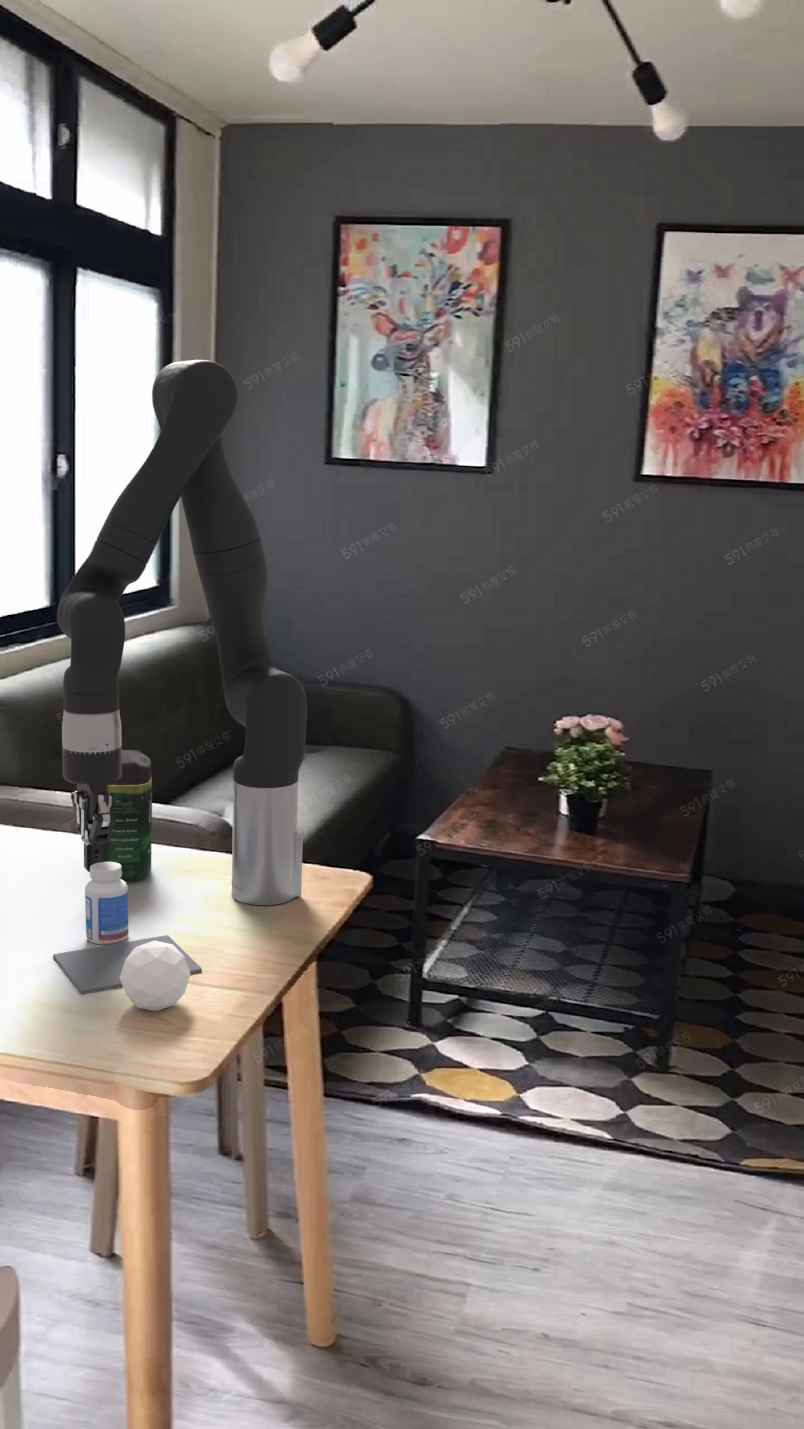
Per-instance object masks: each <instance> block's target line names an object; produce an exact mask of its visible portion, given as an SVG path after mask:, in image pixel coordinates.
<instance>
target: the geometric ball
mask: <svg viewBox="0 0 804 1429" xmlns="http://www.w3.org/2000/svg"><path fill="white" fill-rule="evenodd" d="M190 976H191V974H190V971H189V968H188V965H187V963H186V960H185V957H184V956H183V955H182V954H181V953H180V952H179V950H178V949H177V948H176V947H175V946H174V945H173V944H168V943H164V942H159V941H155V940H154V941H151V942H148V943H145V944H142V945H140V946H137V947H135V948H134V950H133V951H132V952H131V953H130V955H129V956H128V957H127V958H126V960H125V963H124V966H123V969H122V972H121V975H120V981H121V983H122V988H123V990H124V992H125V994H126V997H128V999H129V1000H130V1001H131V1002H132V1003H133V1005H134V1006H135V1007H136V1008H138V1009H141V1010H142V1009H143V1010H148V1011H152V1012H158V1011H161V1010H164V1009H166V1008H169V1007H171V1006H175V1005H176V1004H177V1002H179V1000H180V999H181V998H182V997H183V995H184V994H186V990H187V987H188V984H189V980H190Z"/></svg>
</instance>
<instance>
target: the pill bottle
mask: <svg viewBox="0 0 804 1429" xmlns="http://www.w3.org/2000/svg"><path fill="white" fill-rule="evenodd" d="M89 876H90V881H88V882H87V883H86V885H85V887H84V901H85V933H86V935H85V936H86V938H87V940H88V941H89V942H90V943H94V944H96V945H111V944H117V943H122V942H123V941H124V940H126V939H127V938H128V937H129V896H128V895H129V892H128V891H129V890H128V888H129V886H128V883H126V882H125V881H123V880H122V879H120V878H121V876H122V868H121V865H120V864H119V863H116V862H99V863H95V864H93V865H91V866H90V872H89Z"/></svg>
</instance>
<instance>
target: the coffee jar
mask: <svg viewBox="0 0 804 1429" xmlns="http://www.w3.org/2000/svg"><path fill="white" fill-rule="evenodd" d="M152 779H153V777H152V761H151V759H150V758H149V756H147V755H146V754H144V753H142V752H141V751H140V750H136V749H135V750H134V749H127V750H126V749H122V775H121V777H120V778H119V779H118V780H116V781H112V782H111V783H109V784H108V792H109V793H110V794H111V797H112V805H111V807H110V812H115V814H116V821H115V824H114V828H113V831H112V834H111V838H110V841H109V843H105V844H103V862H116V863H119V864H120V865H121V868H122V876H121V878H120V879H122V880H123V881H125V882H126V884H128V883H130V882H133V881H139V880H140V881H141V880H145V879H147V877H149V874H150V872H151V870H152V831H153V830H152V828H153V827H152V826H153V785H152V784H153V780H152Z"/></svg>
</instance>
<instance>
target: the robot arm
mask: <svg viewBox="0 0 804 1429" xmlns="http://www.w3.org/2000/svg"><path fill="white" fill-rule="evenodd" d="M151 400H152V402H151V403H152V407H153V411H154V414H155V417H156V419H157V423H158V426H159V428H160V433H159V435H158V437H157V439H156V441H155V443H154V445H153V447H152V449H151V451H150V453H149V454H148V456H147V458H146V459H145V461H143V464H142V465H141V466H140V467H139V469H138V471H137V472H136V473H135V474H134V476H133V477H132V479H131V480H130V481H129V483H127V485H126V486H125V488H124V489H123V490H122V492H121V493H120V495H119V496H118V498H117V499H116V501H115V503H114V504H113V506H112V507H111V509H110V511H109V513H108V515H107V516H106V519H105V521H104V522H103V524H102V527H101V529H100V531H99V533H98V535H97V538H96V540H95V541H94V543H93V546H92V549H91V552H90V553H89V555H88V556H87V558H86V559H85V560H84V562H83V563H82V564H81V566H80V567H79V568H78V570H77V571H76V573H75V574H74V576H73V577H72V578H71V580H70V582H69V583H68V585H67V587H66V588H65V590H64V592H63V593H62V595H61V598H60V601H59V602H58V606H57V610H56V621H57V624H58V625H57V626H59V629H60V630H61V632H62V634H64V635H65V637H68V638H69V640H70V663H69V664H70V665H69V666H68V667H67V668H66V669H65V671H64V675H63V683H62V684H63V685H62V686H63V687H62V688H63V690H62V692H63V694H62V695H63V700H62V701H63V715H62V723H61V742H62V744H61V745H62V752H61V753H62V755H61V756H62V757H61V758H62V778H64V780H65V781H67V782H68V783H71V784H75V785H76V791H72V792H71V793H70V799H71V804H72V809H73V814H74V818H75V825H76V830H77V834H78V835H80V839H81V842H82V843H83V867H84V869H85V870H86V871H87V872H88V873H90V866H91V865H93V864H95V863H99V862H103V844H105V843H109V841H110V838H111V834H112V831H113V828H114V824H115V821H116V814H115V812H110V807H111V805H112V797H111V794H110V793H109V792H108V784H109V783H111V782H112V781H116V780H118V779H119V778H120V777H121V775H122V750H123V749H122V748H123V747H122V744H123V743H122V719H121V715H120V682H119V681H120V680H119V673H120V669H121V665H122V660H123V655H124V654H123V653H124V648H125V642H126V641H125V640H126V620H125V614H124V612H123V608H122V607H121V606H120V604H119V601H120V599H121V598H122V596H123V594H124V592H125V590H126V589H127V587H128V586H129V585H130V584H131V585H132V584H133V583H135V582H136V581H138V580H139V579H140V577H141V576H142V574H143V573H144V571H145V570H146V567H147V565H148V563H149V561H150V559H151V557H152V555H153V554H154V551H155V549H156V546H157V545H158V542H159V540H160V538H161V536H162V534H163V531H164V530H165V528H166V526H167V523H168V522H169V519H170V517H171V515H172V513H173V512H174V509H175V508H176V505H177V504H178V503H179V500H180V499H181V502H182V506H183V508H182V509H183V512H184V516H185V520H186V525H187V529H188V533H189V537H190V543H191V548H192V551H193V556H194V557H193V558H194V561H195V565H196V568H197V572H198V577H199V580H200V584H201V587H202V591H203V593H204V598H205V602H206V607H207V609H208V614H209V618H210V621H211V626H212V628H213V632H214V635H215V639H216V640H215V641H216V645H217V646H216V647H217V652H218V658H219V664H220V672H221V681H222V687H223V694H224V700H225V705H226V708H227V709H228V712H229V714H230V715H231V717H232V718H233V719H234V720H235V722H237V723H238V724H240V726H243V727H245V737H244V740H245V741H244V751H243V754H242V755H241V756H238V757H237V758H236V759H234V762H233V767H232V779H233V780H232V838H231V841H232V847H231V848H232V851H231V852H232V853H231V856H232V858H231V896H232V897H233V899H235V900H236V901H238V902H241V903H244V904H248V905H253V906H273V905H279V904H284V903H287V902H291V900H293V899H295V898H298V897H301V896H302V882H303V881H302V880H303V879H302V876H303V841H304V840H303V838H304V837H303V833H302V831H300V830H298V815H299V814H298V811H299V810H298V809H299V808H298V807H299V805H298V804H299V803H298V802H299V801H298V800H299V773H300V769H301V766H302V764H303V761H304V758H305V750H306V738H307V737H306V735H307V725H308V724H307V719H308V705H307V704H308V702H307V701H308V700H307V696H306V692H305V689H304V685H302V683H301V682H300V680H299V679H298V678H296V677H295V676H293V675H292V674H289V673H287V672H285V671H283V670H280V669H277V667H276V665H275V663H274V660H273V657H272V654H271V651H270V647H269V643H268V640H267V636H266V630H265V619H264V618H265V616H264V615H265V606H266V598H267V593H268V592H267V591H268V567H267V562H266V557H265V553H264V547H263V543H262V539H261V534H260V531H259V526H258V524H257V521H256V519H255V517H254V516H255V515H254V514H253V512H252V510H251V508H250V506H249V504H248V502H247V500H246V498H245V496H244V494H243V492H242V491H241V488H240V487H239V484H238V483H237V482H236V479H235V477H234V476H233V474H232V472H231V470H230V467H229V463H228V461H227V458H226V454H225V450H224V446H223V440H222V435H221V434H222V433H223V432H224V430H225V429H226V427H227V426H228V424H229V423H230V421H231V419H232V418H233V417H234V414H235V412H236V410H237V406H238V402H239V401H238V400H239V393H238V386H237V383H236V381H235V379H234V377H233V375H232V374H231V372H230V371H229V370H228V368H226V367H225V366H224V365H222V364H220V363H218V362H216V361H211V360H209V359H208V360H207V359H193V360H182V361H176V362H172V363H169V364H167V365H166V366H164V367H163V368H162V369H161V370H160V371H159V372H158V373H157V375H156V377H155V379H154V382H153V385H152V389H151Z"/></svg>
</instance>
